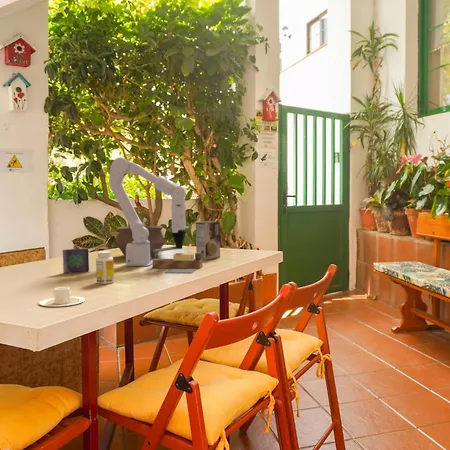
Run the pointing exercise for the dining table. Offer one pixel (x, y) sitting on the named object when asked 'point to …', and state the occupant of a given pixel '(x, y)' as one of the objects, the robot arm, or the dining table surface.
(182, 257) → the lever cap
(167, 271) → the mat
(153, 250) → the lever
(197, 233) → the coffee box
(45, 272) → the dining table surface
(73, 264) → the flask
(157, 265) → the body
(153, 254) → the brown round pot
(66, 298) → the candle holder
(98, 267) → the supplement bottle
